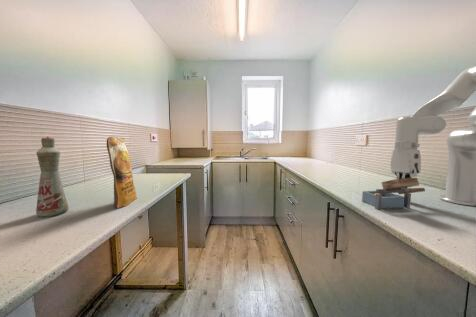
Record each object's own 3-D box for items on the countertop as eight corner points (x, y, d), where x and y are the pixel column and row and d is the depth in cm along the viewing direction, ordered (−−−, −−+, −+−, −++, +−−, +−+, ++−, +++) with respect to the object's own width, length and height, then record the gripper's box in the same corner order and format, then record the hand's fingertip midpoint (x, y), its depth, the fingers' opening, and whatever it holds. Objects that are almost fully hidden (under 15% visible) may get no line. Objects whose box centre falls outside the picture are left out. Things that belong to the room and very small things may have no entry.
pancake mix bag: (103, 210, 77) (98, 136, 74) (126, 196, 96) (123, 137, 93) (122, 209, 77) (118, 136, 75) (141, 196, 96) (138, 137, 94)
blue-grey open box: (403, 208, 79) (404, 196, 79) (381, 209, 78) (381, 197, 77) (382, 200, 89) (382, 190, 88) (362, 201, 88) (362, 191, 87)
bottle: (75, 210, 77) (69, 136, 74) (46, 219, 68) (39, 136, 66) (59, 208, 79) (53, 136, 77) (30, 216, 71) (22, 136, 68)
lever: (448, 188, 72) (444, 177, 74) (394, 190, 70) (391, 178, 71) (404, 194, 89) (402, 184, 90) (359, 196, 86) (357, 186, 88)
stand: (409, 208, 79) (411, 193, 78) (378, 209, 77) (379, 194, 76) (406, 206, 80) (407, 192, 80) (374, 208, 79) (375, 193, 78)
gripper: (432, 146, 79) (428, 192, 81) (397, 145, 94) (394, 184, 95) (415, 146, 78) (411, 193, 80) (383, 145, 93) (380, 184, 95)
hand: (402, 188), depth 88 cm, fingers closed
